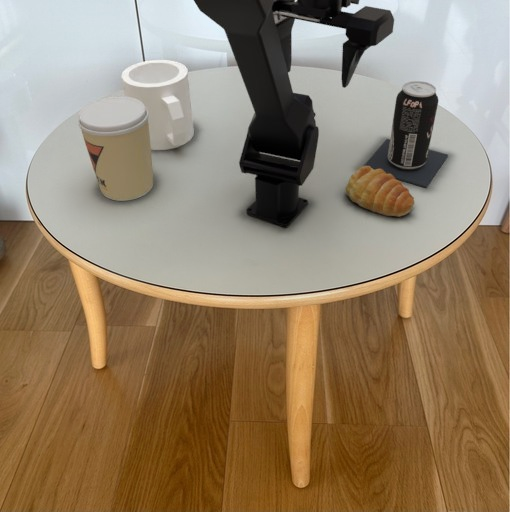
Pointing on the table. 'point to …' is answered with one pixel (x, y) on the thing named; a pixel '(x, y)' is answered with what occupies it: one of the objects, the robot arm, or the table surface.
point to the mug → (162, 100)
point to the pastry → (379, 192)
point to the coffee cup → (118, 146)
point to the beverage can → (412, 124)
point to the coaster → (413, 176)
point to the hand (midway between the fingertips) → (315, 79)
